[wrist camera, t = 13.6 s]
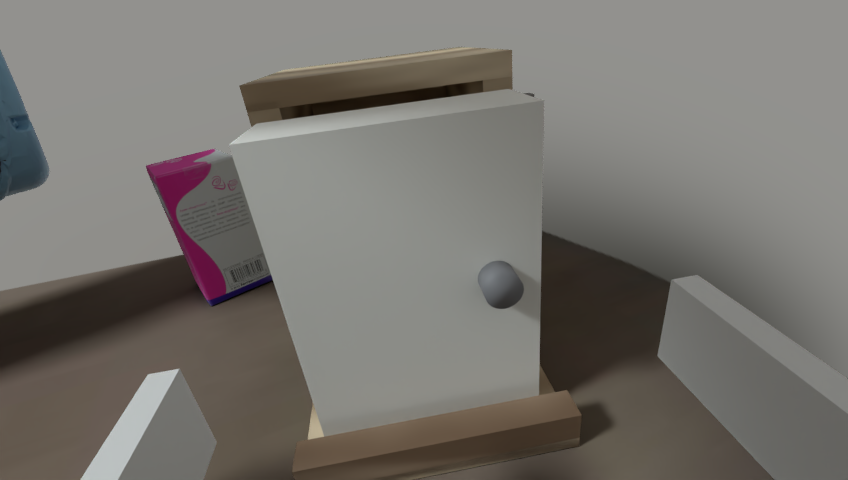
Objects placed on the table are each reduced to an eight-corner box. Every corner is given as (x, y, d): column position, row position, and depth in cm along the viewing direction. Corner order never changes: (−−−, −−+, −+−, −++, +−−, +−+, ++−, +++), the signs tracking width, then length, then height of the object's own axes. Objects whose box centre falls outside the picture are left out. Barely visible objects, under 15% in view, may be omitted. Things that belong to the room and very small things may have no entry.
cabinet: (333, 270, 37) (284, 69, 30) (487, 245, 38) (478, 44, 31) (303, 501, 19) (149, 118, 11) (607, 440, 20) (657, 49, 12)
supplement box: (255, 258, 41) (217, 146, 36) (276, 279, 37) (236, 155, 32) (194, 282, 38) (143, 163, 33) (209, 308, 34) (152, 176, 29)
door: (331, 383, 24) (256, 123, 17) (513, 349, 25) (508, 88, 18) (324, 464, 19) (217, 153, 13) (548, 420, 20) (558, 105, 13)
